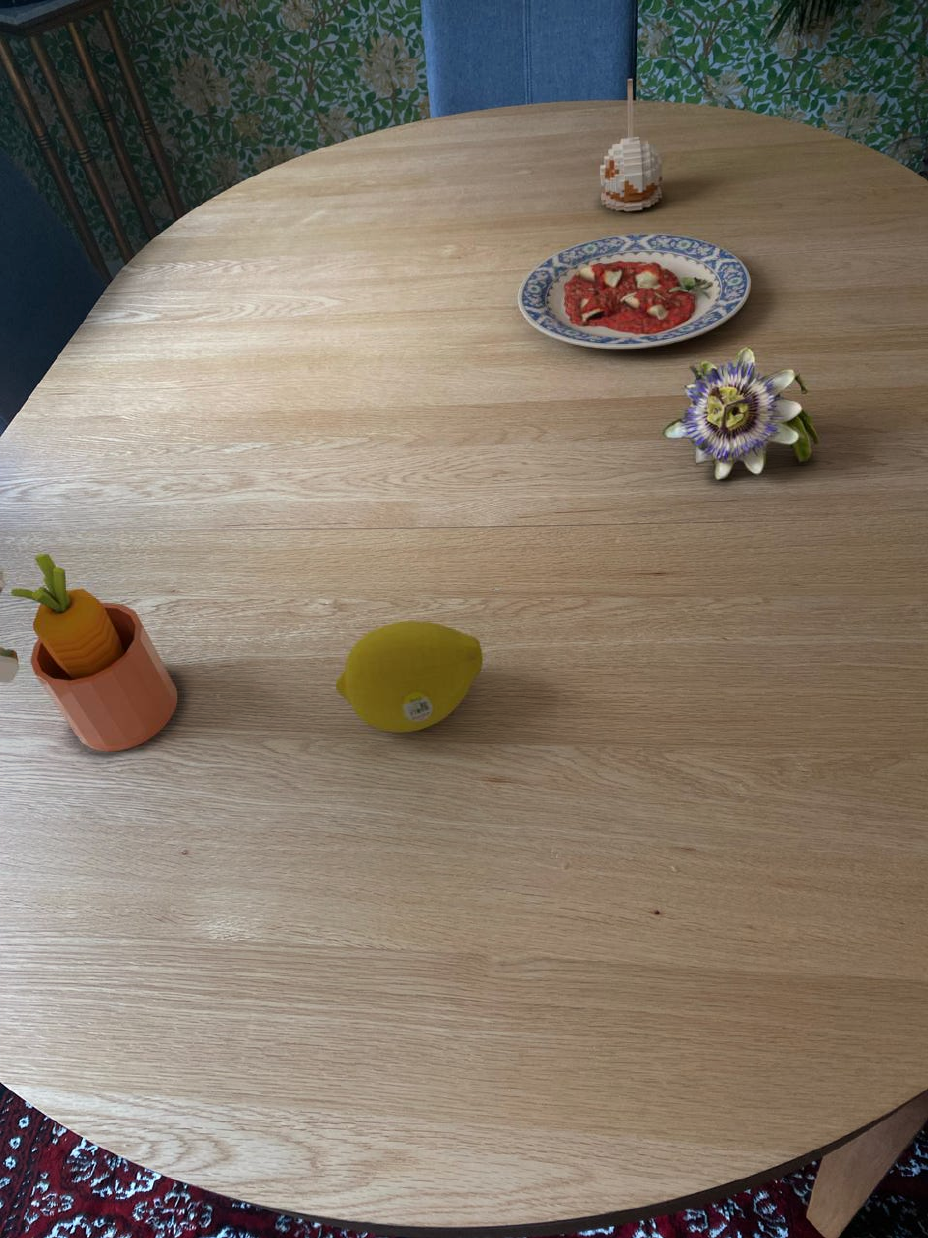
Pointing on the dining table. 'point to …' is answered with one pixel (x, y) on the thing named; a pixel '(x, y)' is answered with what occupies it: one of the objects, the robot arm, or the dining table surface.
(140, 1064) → the dining table surface
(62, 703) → the pot
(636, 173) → the decorative ornament
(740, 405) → the passion flower
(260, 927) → the dining table surface
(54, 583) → the carrot
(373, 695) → the lemon
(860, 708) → the dining table surface
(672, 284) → the ceramic plate
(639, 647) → the dining table surface
